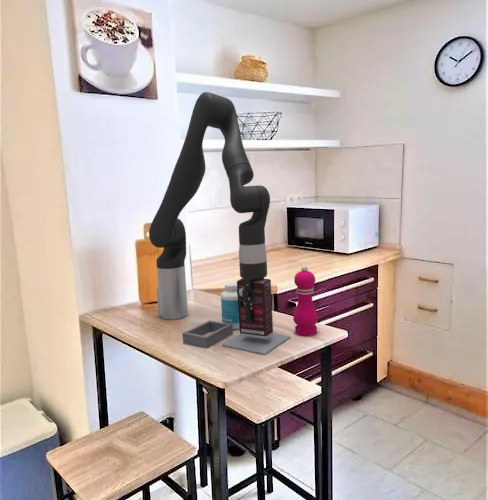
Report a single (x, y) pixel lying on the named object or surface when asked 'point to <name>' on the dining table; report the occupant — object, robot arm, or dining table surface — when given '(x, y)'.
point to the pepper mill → (305, 304)
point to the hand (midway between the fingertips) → (255, 319)
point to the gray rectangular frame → (197, 339)
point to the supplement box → (258, 311)
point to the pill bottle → (230, 305)
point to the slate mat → (256, 343)
